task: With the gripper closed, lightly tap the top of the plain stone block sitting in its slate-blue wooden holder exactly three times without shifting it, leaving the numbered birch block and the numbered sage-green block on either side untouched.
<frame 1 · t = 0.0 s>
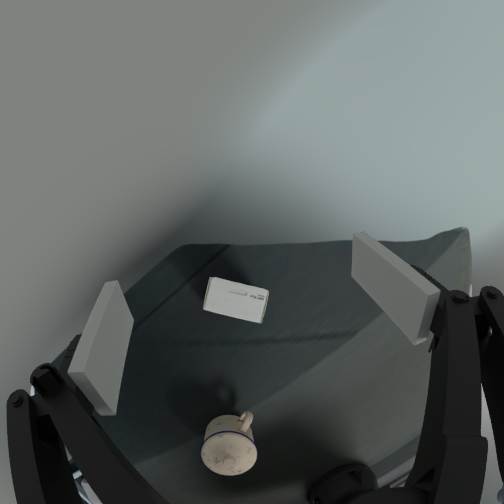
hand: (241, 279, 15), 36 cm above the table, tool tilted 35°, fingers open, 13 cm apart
ink box: (234, 302, 50), on the table
teacup with lid: (232, 427, 46), on the table
stone block: (113, 493, 40), on the table
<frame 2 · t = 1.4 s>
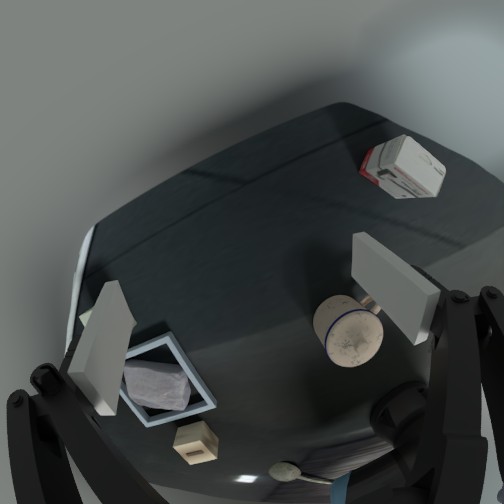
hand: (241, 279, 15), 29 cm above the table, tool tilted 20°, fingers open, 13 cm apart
ink box: (382, 174, 43), on the table
numbered birch block: (198, 433, 49), on the table
soupspoon: (307, 474, 52), on the table
teacup with lid: (342, 312, 46), on the table
slate-blue holder: (157, 381, 46), on the table
stone block: (159, 382, 47), on the table
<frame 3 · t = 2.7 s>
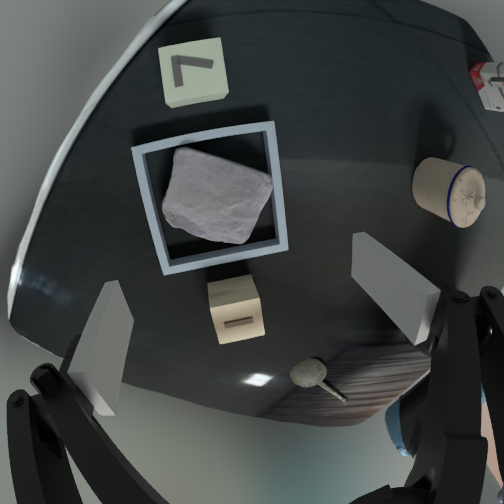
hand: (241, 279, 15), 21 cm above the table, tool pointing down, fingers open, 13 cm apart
ink box: (480, 86, 33), on the table
numbered birch block: (232, 296, 40), on the table
numbered sage-green block: (193, 79, 28), on the table
soupspoon: (323, 382, 54), on the table
teacup with lid: (434, 179, 39), on the table
slate-blue holder: (213, 196, 34), on the table
stone block: (213, 195, 34), on the table
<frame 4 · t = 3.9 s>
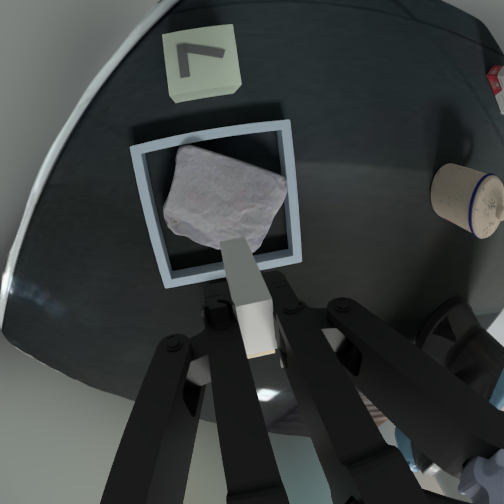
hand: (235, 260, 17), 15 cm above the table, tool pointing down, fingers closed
ink box: (497, 90, 30), on the table
numbered sage-green block: (200, 71, 25), on the table
teacup with lid: (451, 186, 35), on the table
slate-blue holder: (220, 202, 31), on the table
stone block: (220, 199, 31), on the table
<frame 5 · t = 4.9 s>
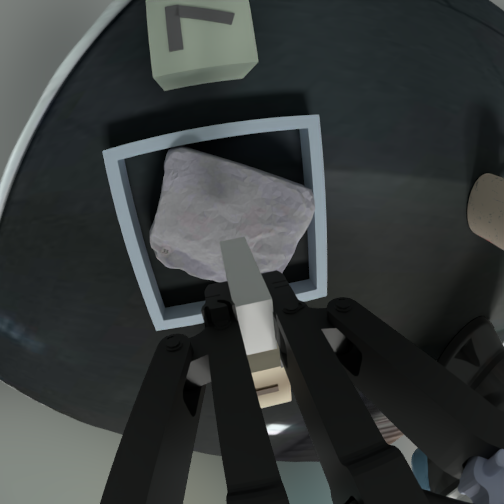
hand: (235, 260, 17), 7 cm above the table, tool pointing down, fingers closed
numbered birch block: (248, 349, 30), on the table
numbered sage-green block: (199, 49, 17), on the table
teacup with lid: (487, 198, 28), on the table
slate-blue holder: (225, 223, 24), on the table
stone block: (224, 217, 24), on the table
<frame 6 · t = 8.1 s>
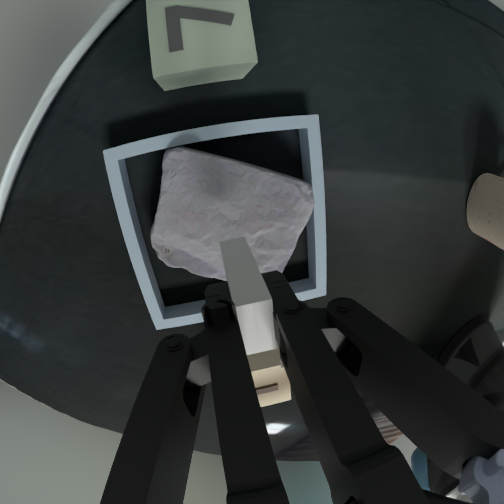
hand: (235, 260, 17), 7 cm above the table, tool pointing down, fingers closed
numbered birch block: (247, 348, 30), on the table
numbered sage-green block: (199, 49, 18), on the table
teacup with lid: (486, 198, 29), on the table
slate-blue holder: (225, 222, 24), on the table
stone block: (224, 215, 24), on the table
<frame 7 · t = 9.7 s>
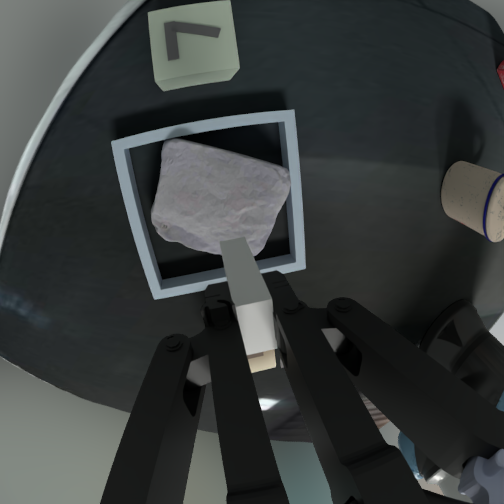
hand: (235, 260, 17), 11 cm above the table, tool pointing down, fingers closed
numbered birch block: (236, 320, 34), on the table
numbered sage-green block: (192, 55, 21), on the table
teacup with lid: (462, 185, 33), on the table
slate-blue holder: (214, 203, 27), on the table
stone block: (214, 197, 27), on the table
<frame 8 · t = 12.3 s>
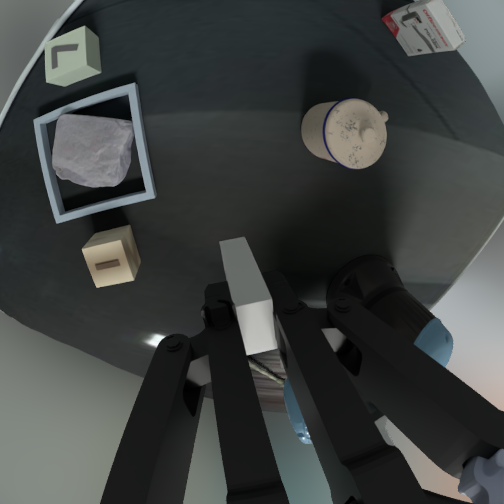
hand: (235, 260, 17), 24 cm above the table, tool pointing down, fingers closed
ink box: (400, 33, 33), on the table
numbered birch block: (117, 247, 40), on the table
numbered sage-green block: (81, 61, 28), on the table
soupspoon: (250, 359, 55), on the table
teacup with lid: (334, 127, 39), on the table
slate-blue holder: (93, 154, 34), on the table
stone block: (94, 149, 34), on the table
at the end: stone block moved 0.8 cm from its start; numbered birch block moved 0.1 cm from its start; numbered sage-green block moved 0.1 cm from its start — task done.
